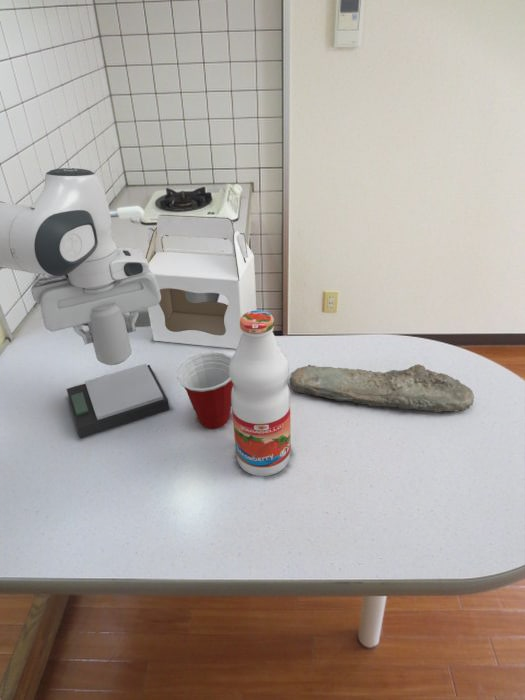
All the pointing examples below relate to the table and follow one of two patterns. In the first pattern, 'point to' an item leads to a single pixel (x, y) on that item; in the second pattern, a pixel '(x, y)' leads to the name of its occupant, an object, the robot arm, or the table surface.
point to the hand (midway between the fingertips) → (110, 336)
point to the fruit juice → (260, 397)
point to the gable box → (200, 283)
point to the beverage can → (109, 335)
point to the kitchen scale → (116, 400)
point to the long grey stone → (385, 387)
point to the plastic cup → (208, 387)
